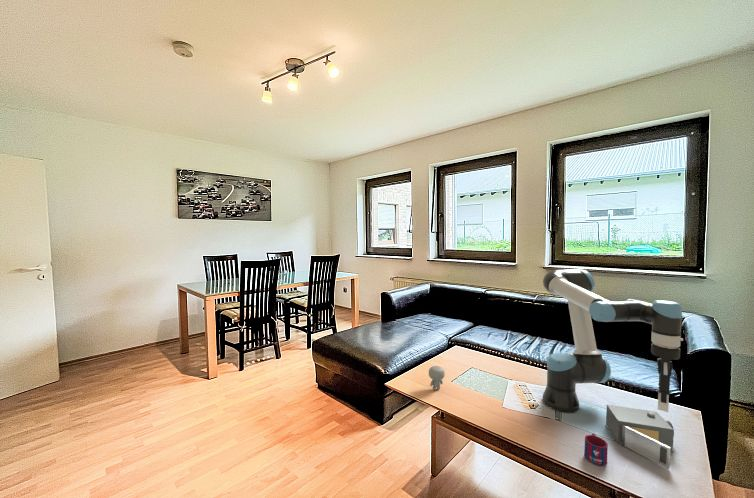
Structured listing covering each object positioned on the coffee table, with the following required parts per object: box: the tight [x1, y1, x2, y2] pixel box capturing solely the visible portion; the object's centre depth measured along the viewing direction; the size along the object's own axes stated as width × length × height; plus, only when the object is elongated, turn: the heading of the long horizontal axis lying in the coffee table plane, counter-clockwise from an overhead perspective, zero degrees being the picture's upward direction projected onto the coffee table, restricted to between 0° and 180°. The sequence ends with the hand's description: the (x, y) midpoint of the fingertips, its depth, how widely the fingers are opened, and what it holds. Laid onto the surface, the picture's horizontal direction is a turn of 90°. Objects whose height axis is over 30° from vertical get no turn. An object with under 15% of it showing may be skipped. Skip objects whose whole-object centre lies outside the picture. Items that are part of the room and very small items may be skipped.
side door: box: [621, 425, 671, 470], centre depth 112 cm, size 14×2×8 cm, turn 26°
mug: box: [583, 433, 609, 467], centre depth 113 cm, size 7×10×7 cm
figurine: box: [428, 365, 446, 391], centre depth 161 cm, size 8×8×12 cm
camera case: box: [605, 404, 675, 454], centre depth 122 cm, size 19×12×10 cm, turn 71°
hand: (662, 409), depth 110 cm, fingers closed
